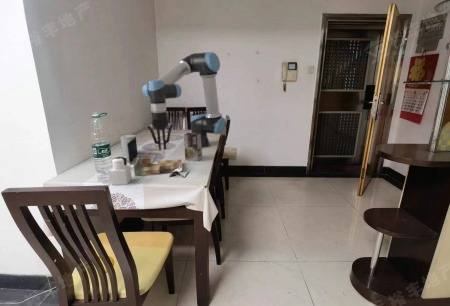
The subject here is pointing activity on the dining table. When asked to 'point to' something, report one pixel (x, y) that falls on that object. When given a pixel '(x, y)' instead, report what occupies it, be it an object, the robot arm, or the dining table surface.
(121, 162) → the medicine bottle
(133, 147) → the laptop
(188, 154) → the coffee box
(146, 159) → the block
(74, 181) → the dining table surface
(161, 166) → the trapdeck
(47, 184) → the dining table surface
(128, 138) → the grey mottled cylinder
